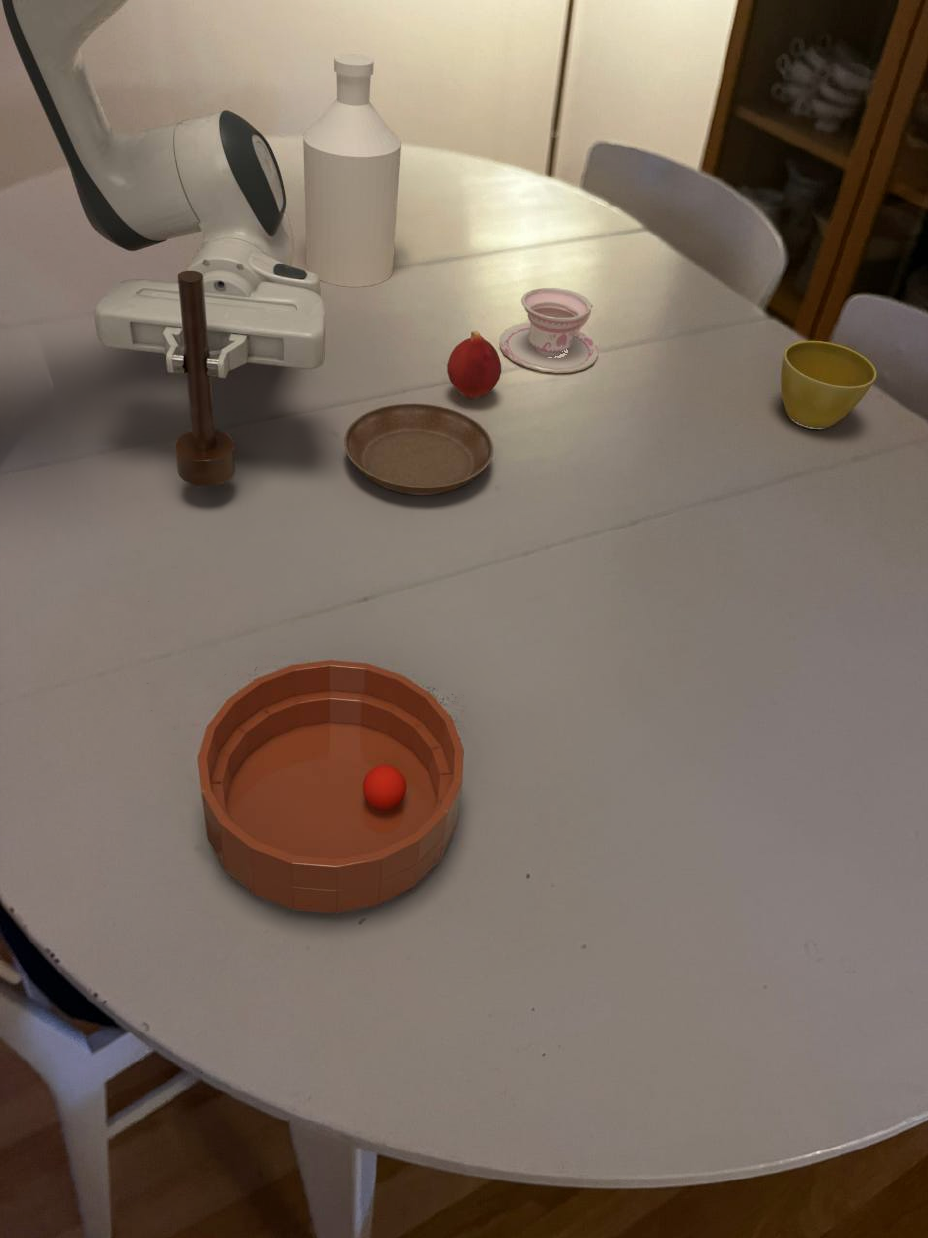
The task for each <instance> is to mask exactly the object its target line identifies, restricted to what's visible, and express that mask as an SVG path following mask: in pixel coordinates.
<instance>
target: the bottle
mask: <svg viewBox="0 0 928 1238" xmlns="http://www.w3.org/2000/svg"><path fill="white" fill-rule="evenodd" d="M333 71H334V73H335V74H336V99H335V100H334V101H333V103H331V104H330V106H328V108H327V109H326V110H325V112H324V113H323V114H322V115H321V116H320V117H319V119H317V120H316V121H315V122H314V123H313V124H311V126H309V128H307V129H306V130H305V132H304V133H303V134H302V144H303V145H302V146H303V179H304V182H303V183H304V213H305V214H304V215H305V216H304V218H305V250H306V251H305V253H306V254H305V255H306V270H307V271H309V272H312V273H315V274H316V275H318V277H319V281H322V282H324V283H326V284H330V285H335V286H339V287H340V286H341V287H348V288H361V287H362V288H364V287H371V286H376V285H379V284H382V283H384V282H385V281H388V279H390V278H391V276H392V275H393V272H394V260H395V258H394V257H395V242H396V228H397V215H398V199H399V183H400V168H401V154H402V153H401V152H402V142H401V139H400V138H399V136H398V135H397V134H396V133H395V132H394V131H393V130H392V129H391V127H390V126H389V125H388V124H387V123H386V121H384V119H383V118H382V116H381V115H380V114H379V112H378V111H377V110H376V108H375V107H374V106H373V104H372V103H371V102H370V96H371V95H370V94H371V76H372V75H373V74H374V59H373V58H371V57H370V56H367V55H363V54H357V53H342V54H337V55H335V56H334V57H333Z"/></svg>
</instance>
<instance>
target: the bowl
mask: <svg viewBox="0 0 928 1238" xmlns="http://www.w3.org/2000/svg"><path fill="white" fill-rule="evenodd" d="M460 738H461V737H460V736H459V732H458V730H457V727H456V725H455V722H454V720H453V718H452V717H451V716H450V715H449V713H448V712H447V711H446V710H445V708H444V707H443V706H442V705H441V704H440V703H439V701H438V700H437V699H436V698H435V697H434V695H433V694H432V693H430V692H429V691H427V690H426V689H425V688H423V687H421V686H420V685H418V684H417V683H415V682H413V680H410V679H409V678H408V677H406V676H405V675H402V674H400V673H397V672H394V671H391V670H389V669H385V668H383V667H379V666H376V665H373V664H371V663H367V662H366V663H365V662H355V661H345V660H333V659H330V660H329V659H325V660H319V661H313V662H305V663H296V664H290V665H288V666H286V667H283V668H280V669H278V670H275V671H272V672H270V673H267V674H265V675H262V676H259V677H257V678H255V679H254V680H252V681H251V682H250V683H248V684H247V685H246V686H244V687H243V688H241V689H240V690H239V691H237V692H236V693H234V694H233V695H231V696H230V697H229V698H228V699H226V700H225V702H224V703H223V705H222V706H221V708H220V709H219V710H218V712H217V713H216V714H215V715H214V717H213V718H212V719H211V721H210V722H209V723H208V725H207V726H206V728H205V732H204V735H203V739H202V742H201V746H200V749H199V752H198V755H197V759H196V760H197V767H198V776H199V782H200V783H199V784H200V793H201V799H202V800H201V801H202V808H203V815H204V822H205V830H206V838H207V841H208V843H209V844H210V846H211V848H212V850H213V852H214V854H215V855H216V857H217V859H218V860H219V862H220V864H221V866H222V868H223V870H225V871H226V872H227V873H228V874H230V875H231V876H232V877H233V878H234V879H235V880H237V881H238V882H239V883H240V884H241V885H242V886H244V887H245V888H246V889H247V890H249V891H250V892H251V893H252V894H254V895H255V896H258V897H261V898H263V899H265V900H267V901H271V902H273V903H276V904H278V905H280V906H283V907H286V908H289V909H291V910H294V911H304V912H315V913H325V914H326V913H329V914H338V913H344V912H348V911H349V912H350V911H353V910H359V909H363V908H370V907H374V906H378V905H381V904H383V903H385V902H386V901H389V900H391V899H392V898H394V897H397V896H398V895H400V894H403V893H404V892H406V891H408V890H410V889H411V888H414V887H415V886H416V885H418V883H419V882H420V881H422V879H423V878H424V877H425V876H426V875H427V874H428V873H429V872H430V871H431V870H432V869H433V868H434V867H435V866H436V865H437V864H438V863H439V862H440V861H441V860H442V858H443V856H444V853H445V852H446V850H447V848H448V845H449V843H450V840H451V838H452V836H453V834H454V832H455V830H456V825H457V819H458V812H459V806H460V798H461V794H462V793H461V792H462V785H463V772H464V751H465V750H464V747H463V744H462V741H461V739H460ZM380 765H389V766H393V767H395V768H396V769H398V770H399V771H400V772H401V773H402V774H403V776H404V778H405V781H406V793H405V796H404V798H403V799H402V801H401V802H400V803H399V804H398V805H396V806H395V807H393V808H389V809H379V808H376V807H374V806H372V805H371V804H370V803H369V802H368V801H367V800H366V798H365V796H364V793H363V781H364V779H365V777H366V775H367V773H368V772H369V771H370V770H372V769H373V768H375V767H377V766H380Z"/></svg>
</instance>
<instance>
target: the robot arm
mask: <svg viewBox="0 0 928 1238" xmlns="http://www.w3.org/2000/svg"><path fill="white" fill-rule="evenodd" d="M128 1H129V0H1V3H2V8H3V12H4V17H5V21H6V23H7V26H8V29H9V31H10V35H11V37H12V41H13V42H14V45H15V48H16V49H17V52H18V55H19V57H20V60H21V62H22V64H23V66H24V69H25V71H26V73H27V75H28V78H29V81H30V82H31V84H32V87H33V89H34V91H35V95H36V97H37V98H38V101H39V103H40V105H41V108H42V109H43V111H44V113H45V116H46V118H47V120H48V122H49V125H50V128H51V129H52V131H53V134H54V136H55V138H56V140H57V142H58V144H59V147H60V148H61V152H62V154H63V155H64V158H65V160H66V163H67V166H68V168H69V170H70V173H71V177H72V180H73V183H74V187H75V189H76V193H77V196H78V199H79V201H80V204H81V207H82V210H83V212H84V214H85V216H86V219H87V220H88V223H89V225H90V226H91V227H92V228H93V230H94V231H95V232H96V233H98V234H99V235H100V236H101V237H102V238H104V239H105V240H107V241H108V242H111V243H112V244H114V245H116V246H118V247H119V248H122V249H124V250H126V251H129V252H137V251H140V250H143V249H145V248H149V247H151V246H155V245H158V244H161V243H164V242H166V241H168V240H170V239H175V238H179V237H184V236H188V235H193V234H198V233H201V234H202V237H203V240H202V243H201V246H200V247H199V248H198V249H197V251H196V252H195V254H194V255H193V258H192V259H191V261H190V263H189V264H188V266H187V268H186V269H185V271H197V272H200V273H201V274H202V275H203V280H204V293H205V306H206V320H207V333H208V346H209V356H208V357H207V368H208V371H207V375H208V376H209V377H211V378H217V379H226V378H227V375H228V374H229V371H232V370H234V369H236V368H239V367H241V366H243V365H245V364H246V363H249V364H258V365H267V366H269V365H270V366H275V367H276V366H277V367H286V368H295V369H302V370H303V369H304V370H314V369H317V368H319V367H321V366H323V365H324V362H325V359H326V358H325V356H326V305H325V303H324V300H323V298H322V291H321V283H320V280H319V277H318V275H316V274H315V273H312V272H309V271H308V270H306V269H301V268H298V267H295V266H292V265H293V260H294V251H295V239H294V231H293V230H294V229H293V226H292V223H291V220H290V217H289V215H288V213H287V212H286V209H287V195H286V189H285V184H284V180H283V177H282V173H281V170H280V166H279V164H278V161H277V158H276V156H275V153H274V151H273V150H272V147H271V145H270V143H269V142H268V140H267V139H266V138H265V136H264V135H263V134H262V133H261V132H260V131H259V130H257V129H256V127H255V126H253V124H251V123H250V122H248V120H246V119H245V118H244V117H243V116H240V115H238V114H237V113H234V112H233V111H230V110H228V109H227V110H226V109H225V110H223V111H217V112H213V113H207V114H204V115H199V116H195V117H192V118H191V117H190V118H187V119H183V120H180V121H179V122H178V121H177V122H175V123H171V124H165V125H164V126H158V127H154V128H150V129H145V130H142V131H137V132H125V131H119V130H117V129H115V128H113V127H112V126H111V125H110V124H109V121H108V118H107V116H106V113H105V111H104V107H103V106H102V104H101V101H100V98H99V96H98V93H97V91H96V88H95V86H94V84H93V81H92V78H91V75H90V73H89V71H88V68H87V66H86V63H85V60H84V58H83V54H82V52H81V47H82V45H83V44H84V43H85V42H86V40H87V39H88V38H89V37H90V36H91V35H92V34H93V33H94V32H95V31H96V30H97V29H99V27H101V26H102V25H103V24H104V23H105V22H106V21H108V20H109V19H110V18H112V17H113V16H114V15H115V14H116V13H117V12H119V11H120V10H121V9H122V8H123V7H124V6H125V4H126V3H127V2H128ZM93 317H94V325H95V331H96V335H97V339H98V340H99V341H100V343H101V344H102V345H103V346H104V347H106V348H109V349H119V350H129V351H137V352H147V353H157V354H164V355H165V359H166V360H165V362H166V371H167V373H170V374H180V375H187V372H186V362H185V351H184V340H183V330H182V319H181V308H180V298H179V287H178V282H171V281H161V280H153V279H141V278H132V279H126V280H123V281H120V282H119V283H117V284H116V285H114V286H113V287H112V288H111V289H109V291H107V292H106V293H105V294H104V295H103V296H102V297H101V299H99V301H98V302H96V304H95V306H94V309H93Z"/></svg>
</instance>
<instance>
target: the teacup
mask: <svg viewBox="0 0 928 1238" xmlns="http://www.w3.org/2000/svg"><path fill="white" fill-rule="evenodd" d="M520 303H521V305H522V306H523V308H524V311H525V312H526V313H527V319H528V320H529V322H524V323H519V324H515V325H512V326H510V327H509V328H507V329H505V330H504V331H503V332H502V333H501V335H500V336H499V348H500V349H501V351H502V353H503V354H504V355H505V356H506V357H508V358H509V359H510V360H511V361H512V362H514V363H517V364H518V365H520V366H523V367H525V368H528V369H531V370H535V371H539V372H545V373H552V374H553V373H554V374H564V373H565V374H567V373H575V372H579V371H582V370H586V369H588V368H589V367H591V366H593V365H594V363H595V362H596V360H597V359H598V356H599V352H598V351H599V350H598V347H597V345H596V344H595V342H594V341H593V340H592V339H591V338H590V337H589V336H587V335H586V334H585V333H583V332H581V331H580V330H581V329H582V328H583V327H584V326H585V324H586V323H587V322H588V320H589V318H590V316H591V313H592V311H591V310H592V308H593V306H594V305H593V304H592V303H591V301H590V300H589V298H587V297H586V296H584V295H583V294H582V293H581V294H580V293H578V292H576V291H573V290H569V289H566V288H565V289H564V288H556V287H555V288H554V287H543V288H535V289H533V290H529V291H527V292H525V293H524V294H523V295H522V297H521V299H520ZM566 349H567V350H568V353H565V352H564V350H565V351H566ZM562 351H563V352H562ZM563 353H565V354H567V355H565V356H564V357H561V358H557V357H556V358H554V357H555V356H559V355H560V354H563ZM548 357H552V358H548Z"/></svg>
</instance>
